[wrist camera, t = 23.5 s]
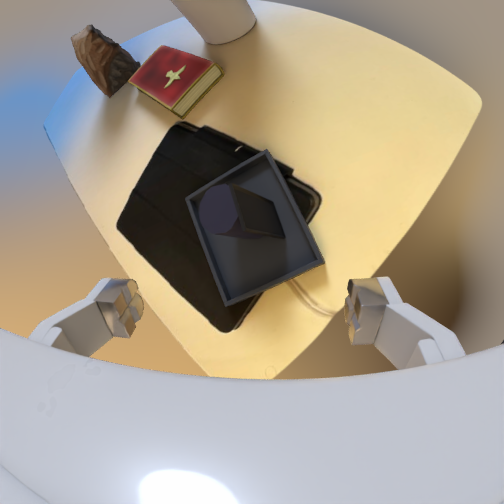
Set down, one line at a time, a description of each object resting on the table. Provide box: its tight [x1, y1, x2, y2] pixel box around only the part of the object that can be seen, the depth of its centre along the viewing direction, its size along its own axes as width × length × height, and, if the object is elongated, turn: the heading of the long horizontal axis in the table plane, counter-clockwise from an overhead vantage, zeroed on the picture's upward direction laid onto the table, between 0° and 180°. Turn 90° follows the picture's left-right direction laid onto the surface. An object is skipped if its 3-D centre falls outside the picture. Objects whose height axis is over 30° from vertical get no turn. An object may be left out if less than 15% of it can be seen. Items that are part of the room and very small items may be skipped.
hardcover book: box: [128, 45, 224, 119], centre depth 44 cm, size 12×21×4 cm, turn 47°
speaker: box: [200, 183, 286, 239], centre depth 32 cm, size 8×6×10 cm
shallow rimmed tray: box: [185, 149, 325, 307], centre depth 37 cm, size 17×14×2 cm
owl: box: [71, 25, 141, 98], centre depth 45 cm, size 13×13×20 cm
